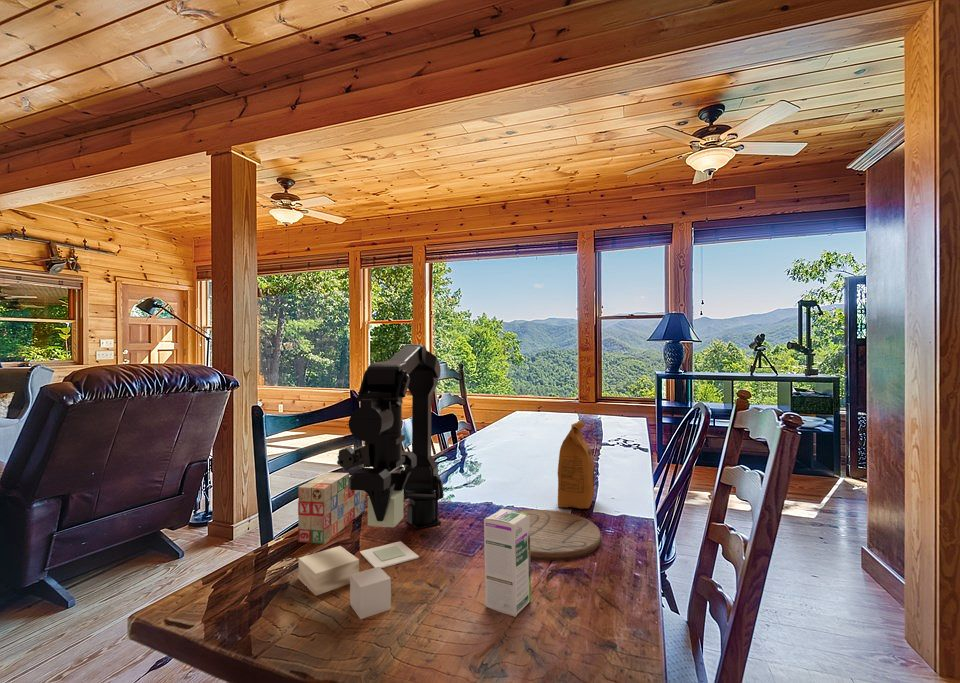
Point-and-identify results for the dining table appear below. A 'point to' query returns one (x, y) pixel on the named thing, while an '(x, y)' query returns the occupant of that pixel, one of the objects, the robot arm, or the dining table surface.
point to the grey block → (370, 592)
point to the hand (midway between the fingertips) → (385, 515)
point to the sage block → (388, 511)
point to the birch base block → (327, 569)
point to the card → (388, 555)
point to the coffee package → (575, 471)
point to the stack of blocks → (327, 507)
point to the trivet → (560, 535)
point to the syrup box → (507, 561)
